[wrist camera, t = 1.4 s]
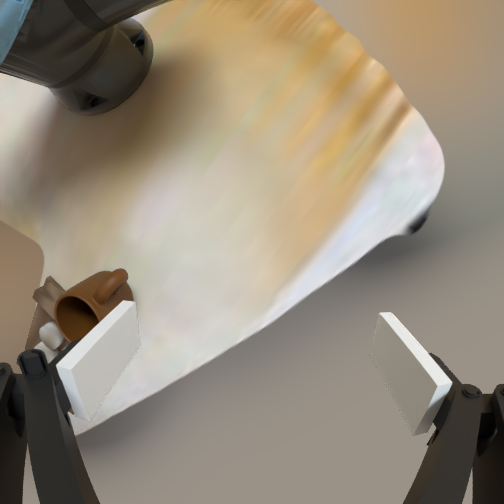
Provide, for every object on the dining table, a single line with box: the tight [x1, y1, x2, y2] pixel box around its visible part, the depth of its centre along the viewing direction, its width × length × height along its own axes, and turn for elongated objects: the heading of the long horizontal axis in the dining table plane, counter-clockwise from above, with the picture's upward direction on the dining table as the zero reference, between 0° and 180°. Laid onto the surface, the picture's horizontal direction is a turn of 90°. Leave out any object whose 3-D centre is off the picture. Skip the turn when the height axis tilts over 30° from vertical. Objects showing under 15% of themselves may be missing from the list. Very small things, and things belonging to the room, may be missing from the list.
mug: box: [54, 268, 133, 343], centre depth 32 cm, size 12×8×9 cm, turn 133°
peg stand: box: [17, 276, 74, 415], centre depth 37 cm, size 16×19×5 cm
